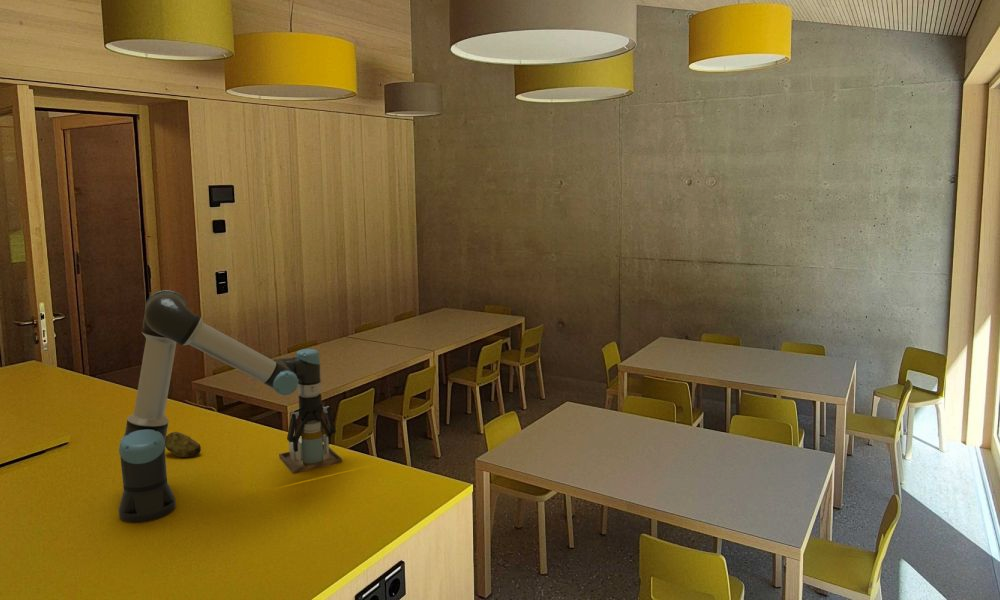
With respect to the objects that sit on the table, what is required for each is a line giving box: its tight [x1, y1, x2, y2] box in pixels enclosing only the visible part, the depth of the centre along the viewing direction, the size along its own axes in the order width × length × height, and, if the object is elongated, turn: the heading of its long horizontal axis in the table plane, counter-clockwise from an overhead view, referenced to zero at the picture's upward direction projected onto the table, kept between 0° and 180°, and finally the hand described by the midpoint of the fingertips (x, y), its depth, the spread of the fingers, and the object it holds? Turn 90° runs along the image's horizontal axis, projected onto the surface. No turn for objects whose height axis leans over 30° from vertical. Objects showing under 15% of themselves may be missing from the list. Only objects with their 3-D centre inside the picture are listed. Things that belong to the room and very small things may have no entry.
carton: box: [288, 437, 303, 461], centre depth 246 cm, size 10×5×6 cm, turn 124°
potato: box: [165, 431, 202, 458], centre depth 247 cm, size 8×13×8 cm, turn 60°
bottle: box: [301, 420, 324, 466], centre depth 238 cm, size 7×7×15 cm
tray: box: [278, 443, 343, 475], centre depth 242 cm, size 17×16×2 cm
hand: (312, 456), depth 239 cm, fingers open, 9 cm apart
